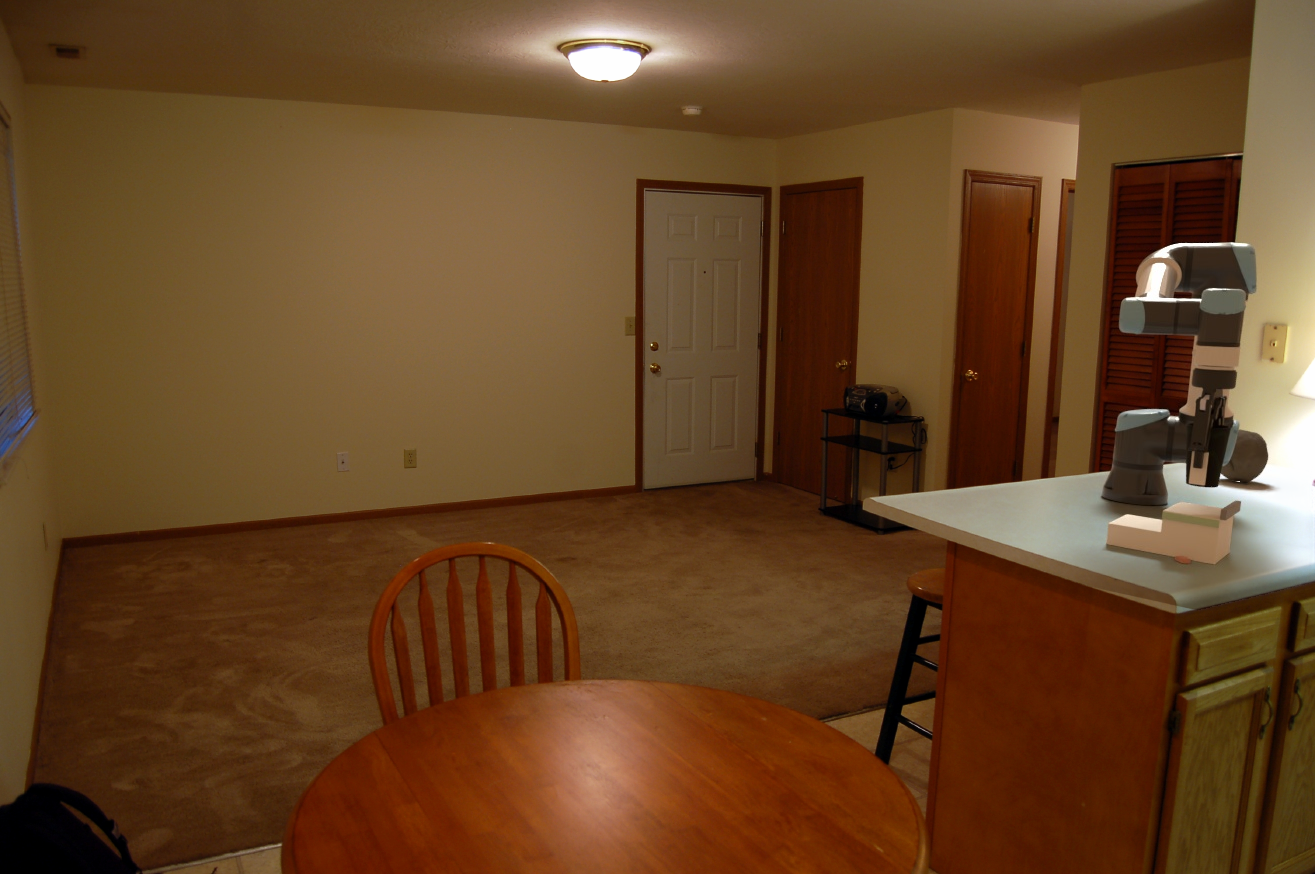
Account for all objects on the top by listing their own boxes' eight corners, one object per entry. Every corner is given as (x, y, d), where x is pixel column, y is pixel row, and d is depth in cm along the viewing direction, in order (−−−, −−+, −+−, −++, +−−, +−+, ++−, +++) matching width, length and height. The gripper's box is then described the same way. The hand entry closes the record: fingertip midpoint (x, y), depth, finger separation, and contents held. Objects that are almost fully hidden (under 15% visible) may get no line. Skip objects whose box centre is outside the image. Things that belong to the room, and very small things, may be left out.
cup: (1230, 489, 182) (1237, 429, 180) (1187, 487, 183) (1194, 427, 181) (1215, 482, 189) (1221, 424, 187) (1174, 479, 190) (1180, 422, 189)
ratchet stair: (1125, 533, 203) (1130, 484, 201) (1235, 553, 189) (1241, 500, 187) (1100, 547, 191) (1105, 495, 190) (1215, 569, 177) (1222, 513, 175)
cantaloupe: (1277, 486, 259) (1284, 434, 257) (1226, 485, 260) (1233, 432, 257) (1246, 477, 273) (1252, 426, 271) (1198, 475, 273) (1204, 425, 271)
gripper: (1207, 364, 192) (1194, 472, 196) (1179, 368, 178) (1167, 485, 181) (1248, 367, 187) (1235, 477, 191) (1224, 371, 173) (1210, 491, 176)
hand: (1202, 481), depth 186 cm, fingers closed on cup, 8 cm apart
